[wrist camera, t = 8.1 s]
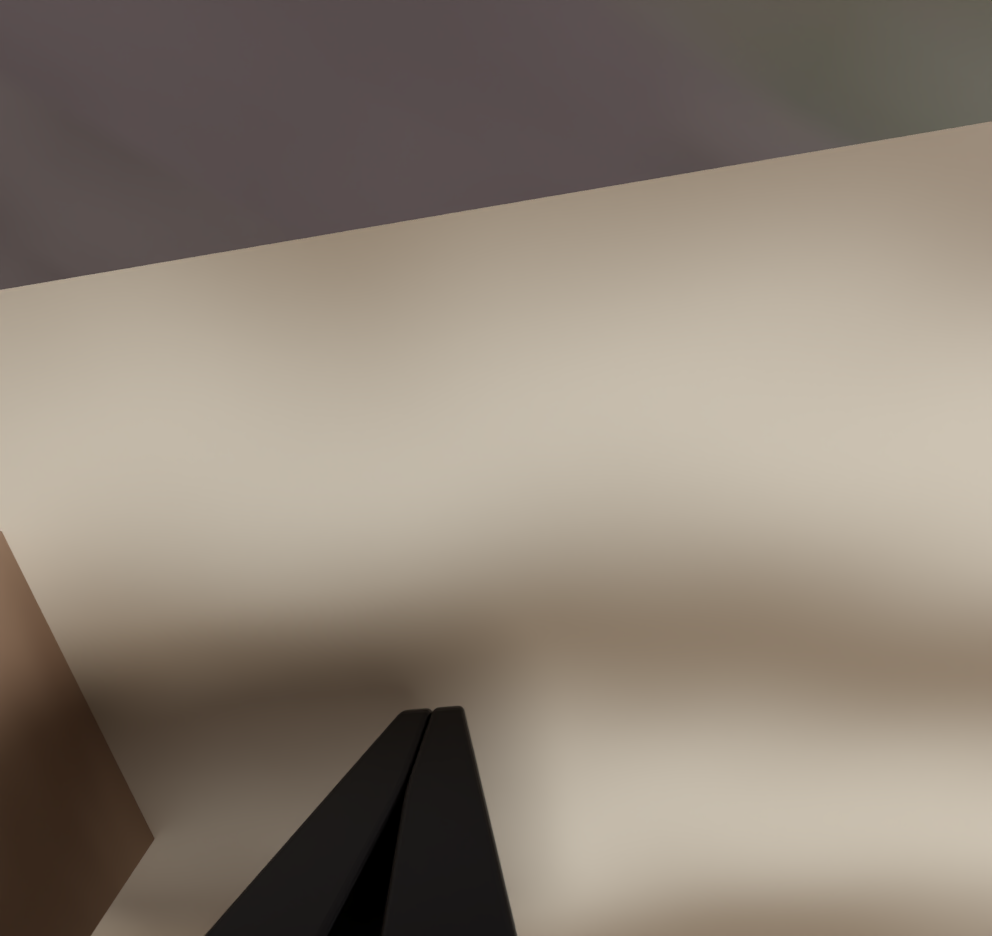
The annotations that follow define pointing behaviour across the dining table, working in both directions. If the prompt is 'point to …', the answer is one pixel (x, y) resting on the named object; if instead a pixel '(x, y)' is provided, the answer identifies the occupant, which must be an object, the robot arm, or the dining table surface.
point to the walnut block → (55, 784)
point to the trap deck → (549, 538)
